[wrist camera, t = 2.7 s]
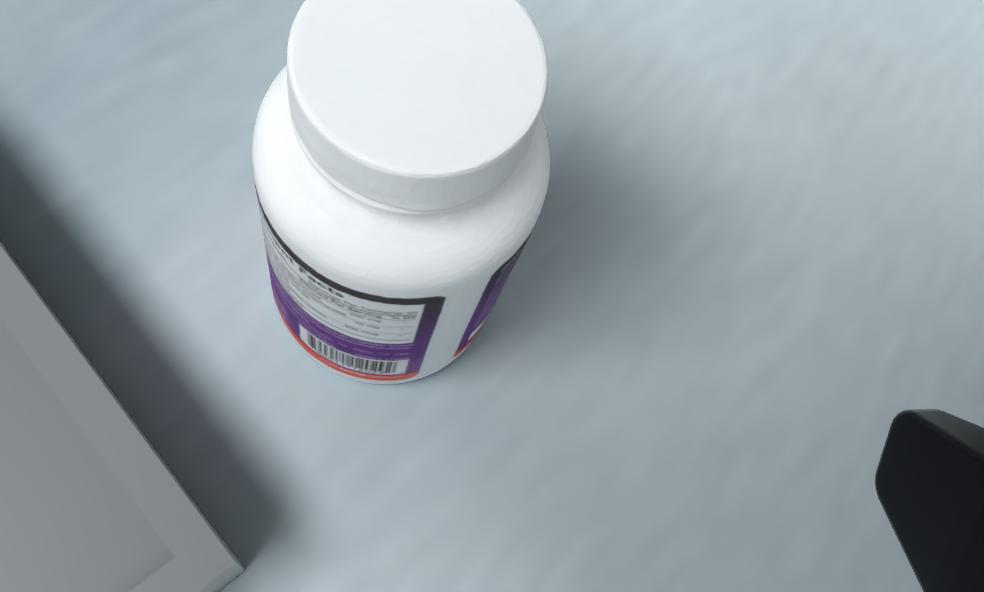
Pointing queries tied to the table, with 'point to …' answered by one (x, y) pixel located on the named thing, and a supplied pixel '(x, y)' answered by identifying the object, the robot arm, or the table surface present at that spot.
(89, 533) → the tray
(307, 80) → the pill bottle
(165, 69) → the table surface
